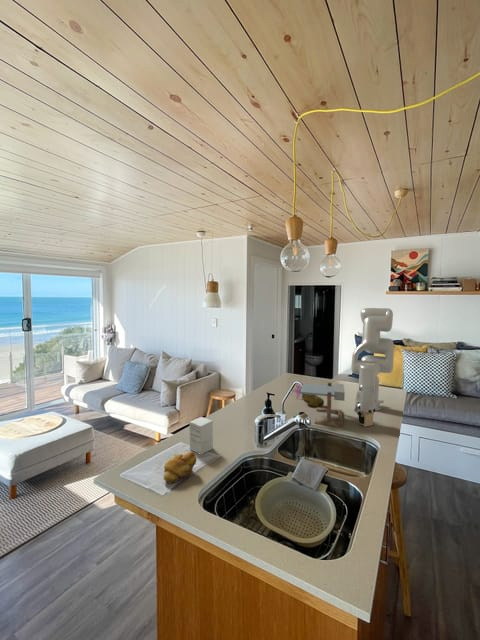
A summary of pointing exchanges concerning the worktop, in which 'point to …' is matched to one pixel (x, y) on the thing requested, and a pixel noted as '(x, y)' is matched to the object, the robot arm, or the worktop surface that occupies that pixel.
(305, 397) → the potato
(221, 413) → the worktop surface
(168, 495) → the worktop surface
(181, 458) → the bread roll
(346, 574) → the worktop surface
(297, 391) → the lily
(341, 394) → the trapdoor
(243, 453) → the worktop surface
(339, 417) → the stand
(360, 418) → the robot arm
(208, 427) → the supplement box
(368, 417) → the tan block
